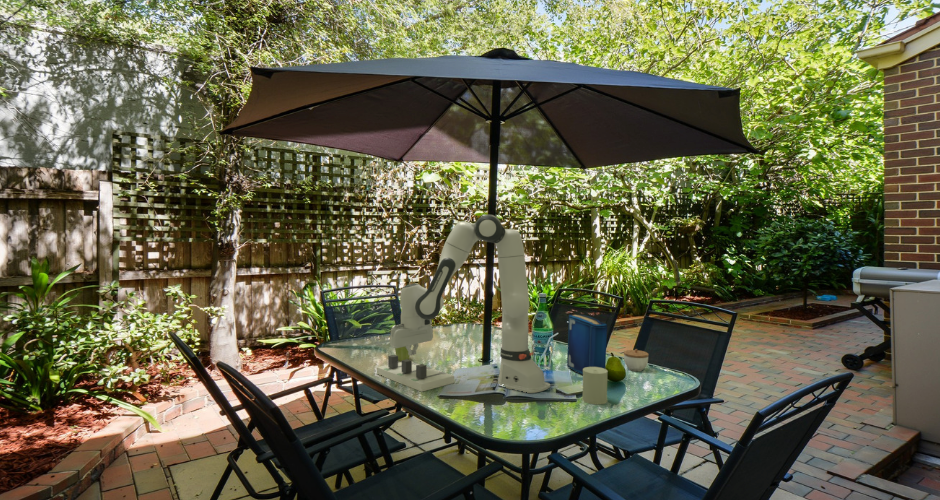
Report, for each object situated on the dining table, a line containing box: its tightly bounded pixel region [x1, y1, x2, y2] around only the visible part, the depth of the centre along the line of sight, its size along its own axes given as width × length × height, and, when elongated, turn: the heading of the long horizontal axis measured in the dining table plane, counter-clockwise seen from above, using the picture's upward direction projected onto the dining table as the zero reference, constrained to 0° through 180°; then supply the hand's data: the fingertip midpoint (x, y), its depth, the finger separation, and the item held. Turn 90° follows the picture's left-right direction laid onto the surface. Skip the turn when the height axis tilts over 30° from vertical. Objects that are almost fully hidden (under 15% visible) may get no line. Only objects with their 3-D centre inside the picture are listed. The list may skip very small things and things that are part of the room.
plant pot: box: [394, 345, 413, 362], centre depth 248 cm, size 9×9×9 cm
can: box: [581, 367, 609, 405], centre depth 192 cm, size 9×9×12 cm
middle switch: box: [401, 359, 413, 374], centre depth 215 cm, size 3×3×5 cm
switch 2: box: [416, 363, 428, 379], centre depth 208 cm, size 3×3×5 cm
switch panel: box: [376, 361, 455, 393], centre depth 218 cm, size 32×17×3 cm, turn 43°
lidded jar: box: [623, 348, 649, 372], centre depth 234 cm, size 11×11×9 cm
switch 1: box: [387, 354, 399, 369], centre depth 222 cm, size 3×3×5 cm
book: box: [566, 314, 608, 376], centre depth 226 cm, size 22×7×25 cm, turn 22°
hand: (412, 354), depth 216 cm, fingers closed
